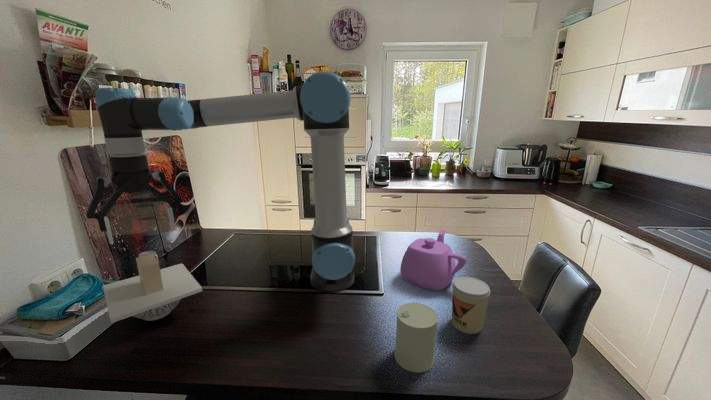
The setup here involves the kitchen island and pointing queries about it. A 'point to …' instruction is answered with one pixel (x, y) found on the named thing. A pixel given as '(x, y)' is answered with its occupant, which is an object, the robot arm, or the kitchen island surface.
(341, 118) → the robot arm
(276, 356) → the kitchen island surface
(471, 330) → the cream canister
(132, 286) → the lid
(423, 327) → the can
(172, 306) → the bowl
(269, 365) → the kitchen island surface
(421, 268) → the teapot
